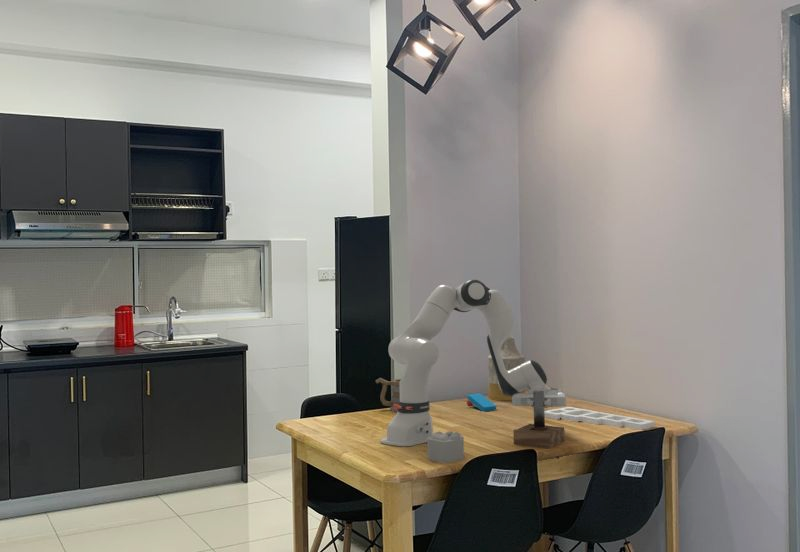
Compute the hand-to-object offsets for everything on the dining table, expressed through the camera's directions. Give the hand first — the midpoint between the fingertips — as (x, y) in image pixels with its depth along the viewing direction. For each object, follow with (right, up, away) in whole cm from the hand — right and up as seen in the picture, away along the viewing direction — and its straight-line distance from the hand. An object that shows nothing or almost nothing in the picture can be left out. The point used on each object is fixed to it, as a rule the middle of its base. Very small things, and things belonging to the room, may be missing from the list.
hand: (538, 403), depth 277 cm
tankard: (-53, -16, +73) cm, 92 cm away
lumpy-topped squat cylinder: (-35, -16, -19) cm, 43 cm away
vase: (+2, -14, +100) cm, 101 cm away
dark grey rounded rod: (0, -9, +1) cm, 9 cm away
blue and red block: (-14, -15, +74) cm, 77 cm away
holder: (+31, -14, +37) cm, 50 cm away
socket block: (0, -14, +1) cm, 15 cm away
